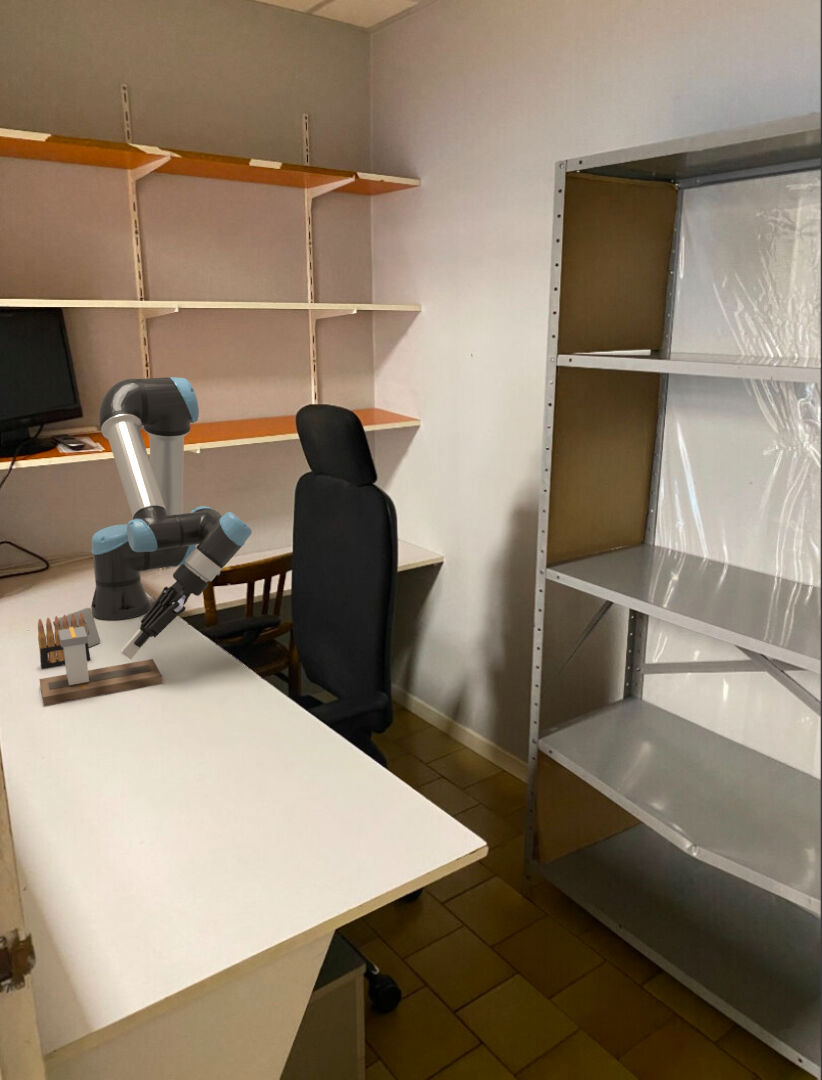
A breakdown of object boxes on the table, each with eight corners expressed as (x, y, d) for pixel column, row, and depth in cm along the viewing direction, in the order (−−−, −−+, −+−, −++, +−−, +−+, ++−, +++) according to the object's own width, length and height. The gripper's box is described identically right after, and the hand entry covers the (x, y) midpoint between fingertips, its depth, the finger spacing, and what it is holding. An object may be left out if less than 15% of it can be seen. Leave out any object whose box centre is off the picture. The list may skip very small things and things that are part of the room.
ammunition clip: (41, 669, 189) (35, 620, 186) (40, 666, 191) (34, 618, 188) (90, 660, 194) (85, 612, 191) (89, 658, 196) (84, 610, 193)
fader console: (153, 666, 190) (152, 658, 190) (162, 683, 182) (161, 674, 181) (40, 687, 180) (39, 678, 179) (44, 706, 171) (42, 696, 171)
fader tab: (88, 671, 182) (83, 625, 179) (92, 682, 176) (87, 635, 174) (63, 675, 180) (57, 629, 177) (66, 687, 174) (60, 639, 171)
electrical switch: (70, 656, 196) (63, 619, 195) (55, 654, 199) (49, 617, 197) (101, 643, 204) (95, 607, 202) (87, 641, 207) (81, 606, 205)
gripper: (216, 590, 181) (144, 675, 178) (202, 574, 192) (134, 654, 189) (190, 570, 177) (116, 656, 174) (177, 555, 188) (107, 636, 185)
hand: (125, 655), depth 182 cm, fingers closed
